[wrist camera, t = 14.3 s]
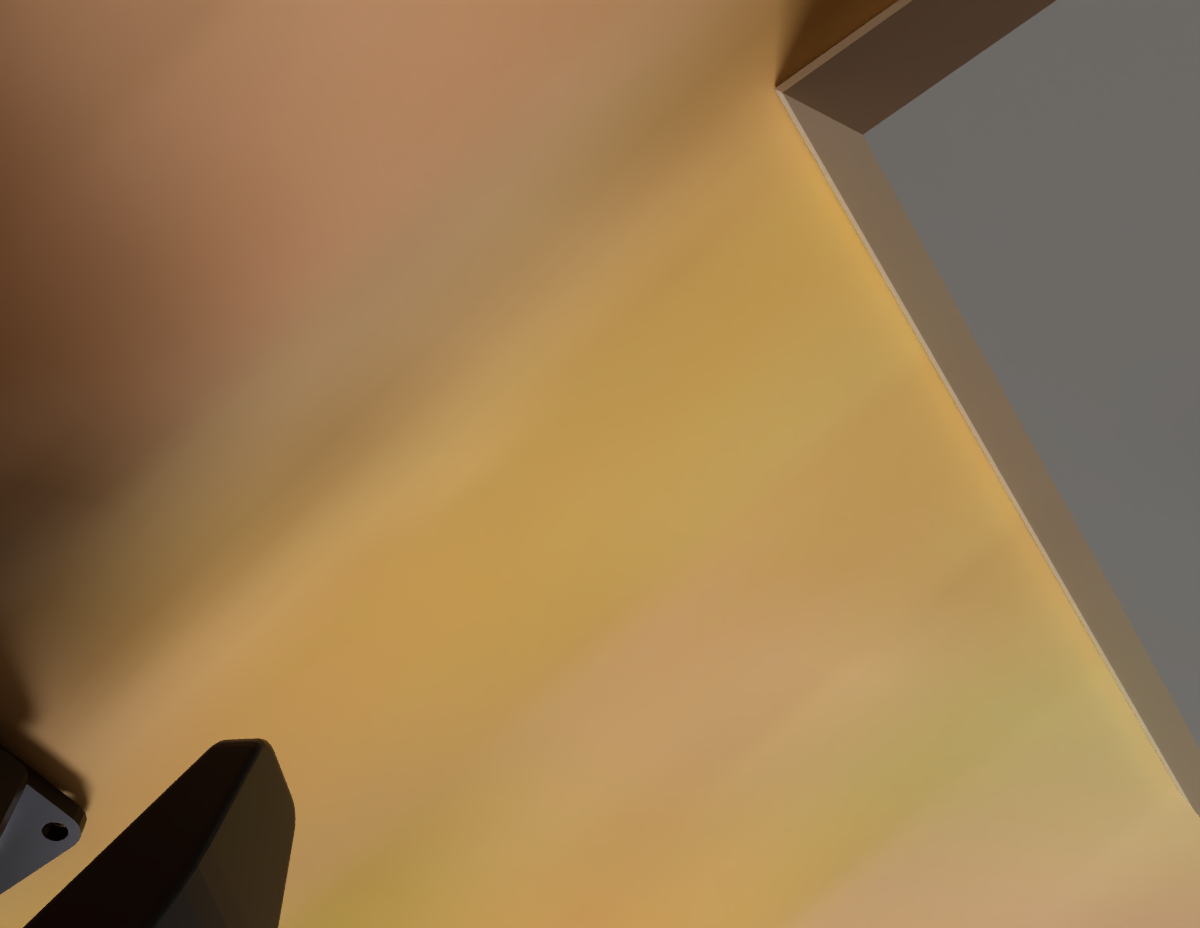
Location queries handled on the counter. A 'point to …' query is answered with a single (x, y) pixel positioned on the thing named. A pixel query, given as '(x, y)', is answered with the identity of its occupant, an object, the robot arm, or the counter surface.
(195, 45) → the counter surface
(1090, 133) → the socket block
